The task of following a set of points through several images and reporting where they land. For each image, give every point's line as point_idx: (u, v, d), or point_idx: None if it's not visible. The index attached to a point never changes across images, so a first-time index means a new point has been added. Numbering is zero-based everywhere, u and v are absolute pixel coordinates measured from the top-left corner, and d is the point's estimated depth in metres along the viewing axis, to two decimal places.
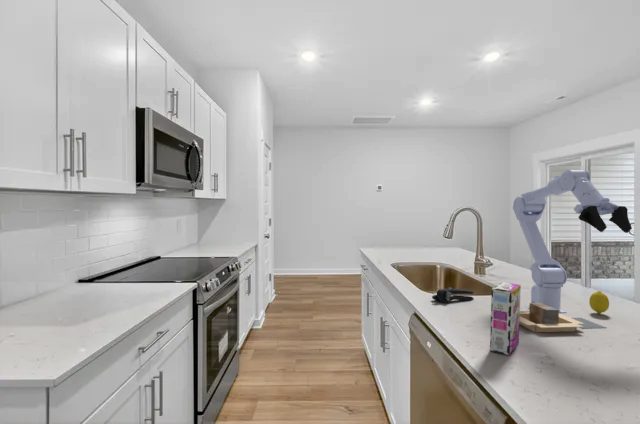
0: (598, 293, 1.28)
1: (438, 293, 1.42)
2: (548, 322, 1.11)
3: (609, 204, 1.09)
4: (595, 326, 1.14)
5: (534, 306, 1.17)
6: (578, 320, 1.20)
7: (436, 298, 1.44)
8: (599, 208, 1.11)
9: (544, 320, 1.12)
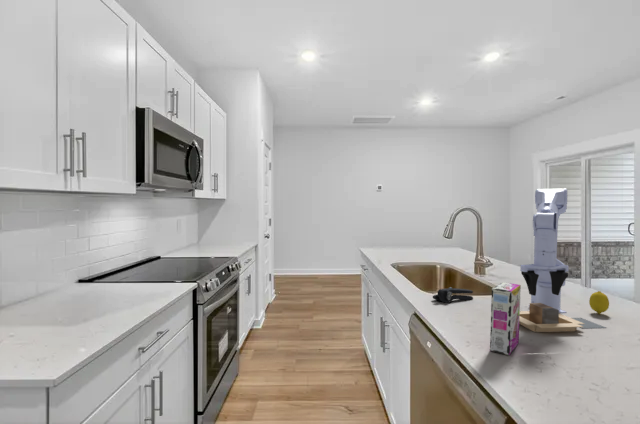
0: (598, 293, 1.28)
1: (439, 293, 1.42)
2: (548, 322, 1.11)
3: (554, 268, 1.13)
4: (595, 326, 1.14)
5: (534, 306, 1.17)
6: (578, 320, 1.20)
7: (437, 298, 1.44)
8: None
9: (544, 320, 1.12)
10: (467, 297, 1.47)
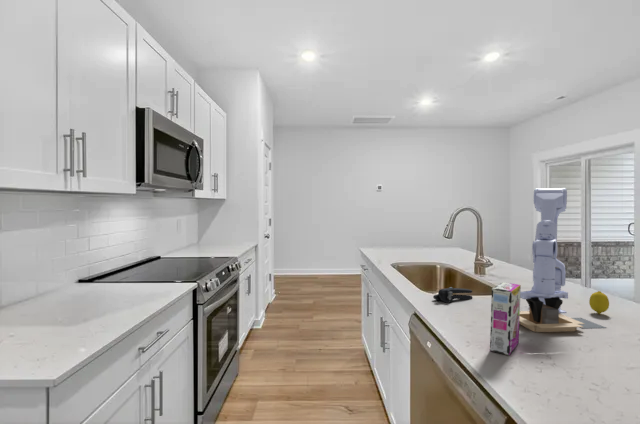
0: (598, 293, 1.28)
1: (440, 293, 1.42)
2: (548, 322, 1.11)
3: None
4: (595, 326, 1.14)
5: None
6: (578, 320, 1.20)
7: (437, 298, 1.44)
8: None
9: (544, 320, 1.12)
10: (467, 296, 1.48)
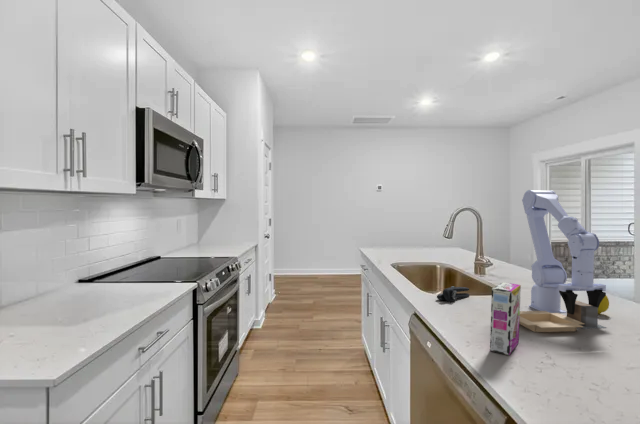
0: None
1: (445, 292, 1.43)
2: (588, 320, 1.14)
3: None
4: None
5: None
6: None
7: (442, 298, 1.45)
8: None
9: (583, 317, 1.15)
10: (465, 295, 1.51)
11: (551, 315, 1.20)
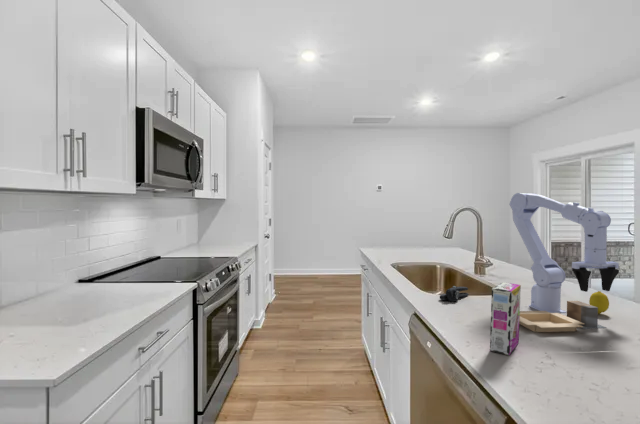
0: (598, 293, 1.28)
1: (449, 293, 1.43)
2: (588, 320, 1.14)
3: (606, 265, 1.17)
4: None
5: (572, 304, 1.19)
6: None
7: (445, 298, 1.44)
8: None
9: (583, 317, 1.15)
10: (465, 294, 1.52)
11: (551, 315, 1.20)
